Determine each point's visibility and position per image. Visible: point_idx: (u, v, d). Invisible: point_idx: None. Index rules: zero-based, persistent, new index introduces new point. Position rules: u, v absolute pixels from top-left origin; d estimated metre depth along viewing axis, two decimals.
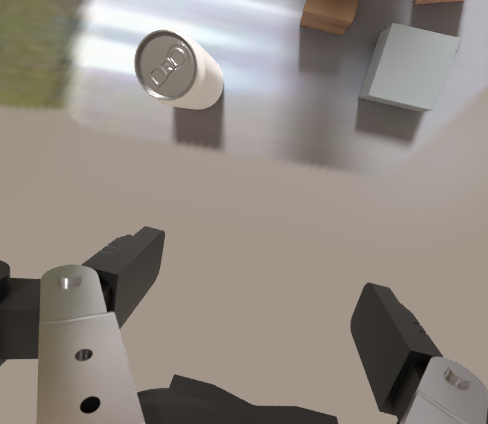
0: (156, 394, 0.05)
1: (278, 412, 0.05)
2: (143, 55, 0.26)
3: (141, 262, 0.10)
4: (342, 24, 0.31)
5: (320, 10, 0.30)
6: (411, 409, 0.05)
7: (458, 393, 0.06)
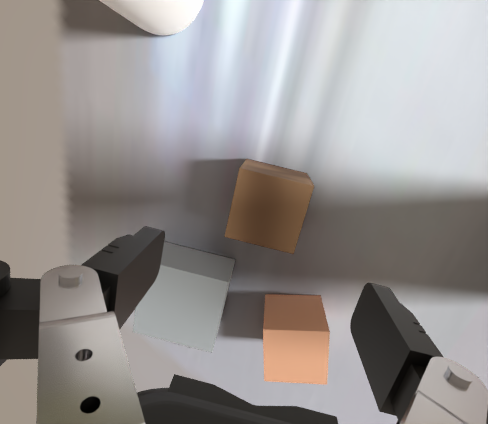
0: (156, 394, 0.05)
1: (278, 412, 0.05)
2: None
3: (141, 262, 0.10)
4: None
5: (239, 192, 0.20)
6: (411, 409, 0.05)
7: (458, 393, 0.06)
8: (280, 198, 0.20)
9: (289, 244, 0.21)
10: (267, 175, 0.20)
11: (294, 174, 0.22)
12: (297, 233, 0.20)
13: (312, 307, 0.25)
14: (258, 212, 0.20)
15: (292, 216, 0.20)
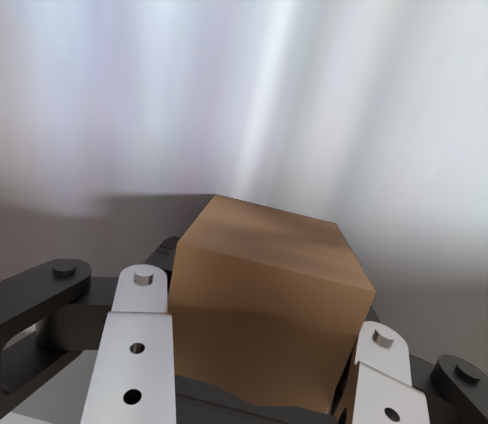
0: None
1: (278, 413, 0.05)
2: None
3: None
4: None
5: (181, 300, 0.08)
6: (357, 383, 0.05)
7: (378, 348, 0.07)
8: (285, 318, 0.08)
9: None
10: (251, 262, 0.07)
11: (315, 237, 0.10)
12: (327, 395, 0.08)
13: None
14: (231, 345, 0.08)
15: (314, 358, 0.08)
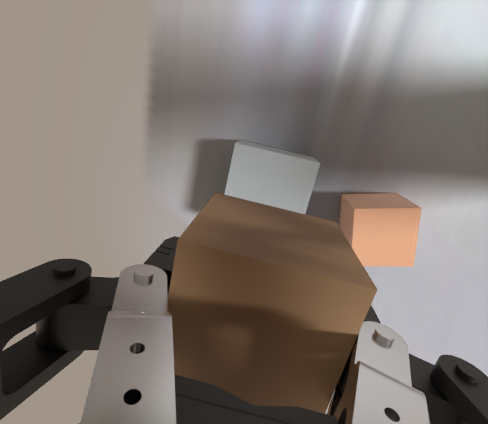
0: None
1: (278, 412, 0.05)
2: None
3: None
4: None
5: (181, 297, 0.08)
6: (357, 383, 0.05)
7: (378, 348, 0.07)
8: (285, 315, 0.08)
9: None
10: (252, 259, 0.07)
11: (315, 235, 0.10)
12: (327, 393, 0.08)
13: (393, 198, 0.26)
14: (231, 342, 0.08)
15: (315, 356, 0.08)
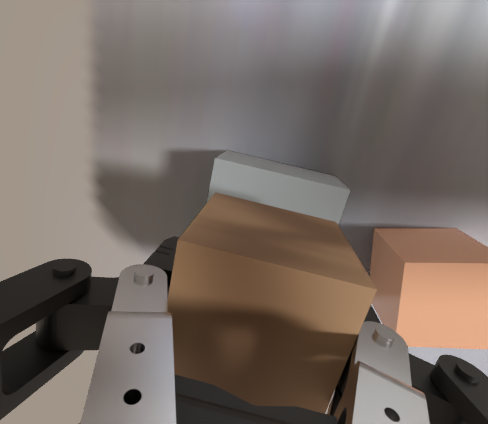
0: None
1: (278, 413, 0.05)
2: None
3: None
4: None
5: (181, 297, 0.08)
6: (357, 383, 0.05)
7: (378, 348, 0.07)
8: (285, 315, 0.08)
9: None
10: (252, 259, 0.07)
11: (315, 235, 0.10)
12: (327, 393, 0.08)
13: (456, 239, 0.17)
14: (231, 342, 0.08)
15: (315, 356, 0.08)
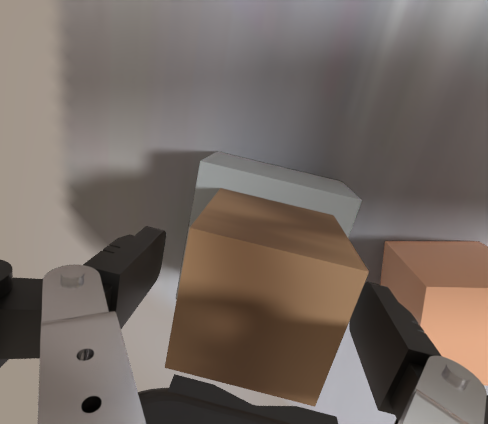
0: (156, 394, 0.05)
1: (278, 413, 0.05)
2: None
3: (142, 262, 0.10)
4: None
5: (192, 280, 0.09)
6: (410, 408, 0.05)
7: (456, 392, 0.06)
8: (286, 296, 0.09)
9: (306, 388, 0.09)
10: (256, 245, 0.08)
11: (313, 226, 0.11)
12: (325, 368, 0.09)
13: (482, 255, 0.15)
14: (237, 322, 0.09)
15: (313, 334, 0.09)
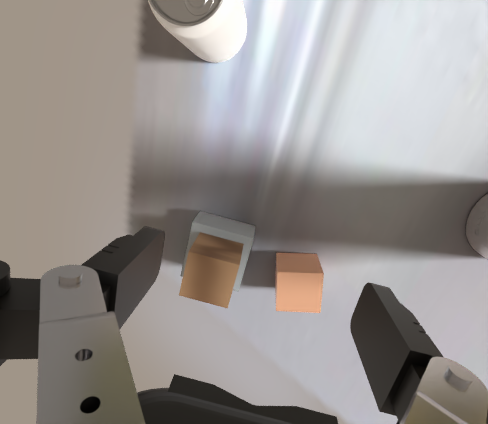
0: (156, 394, 0.05)
1: (278, 412, 0.05)
2: None
3: (141, 262, 0.10)
4: None
5: (189, 266, 0.29)
6: (411, 409, 0.05)
7: (458, 393, 0.06)
8: (217, 272, 0.29)
9: (224, 301, 0.30)
10: (207, 256, 0.28)
11: (231, 249, 0.31)
12: (229, 294, 0.29)
13: (310, 260, 0.35)
14: (202, 279, 0.29)
15: (225, 283, 0.29)
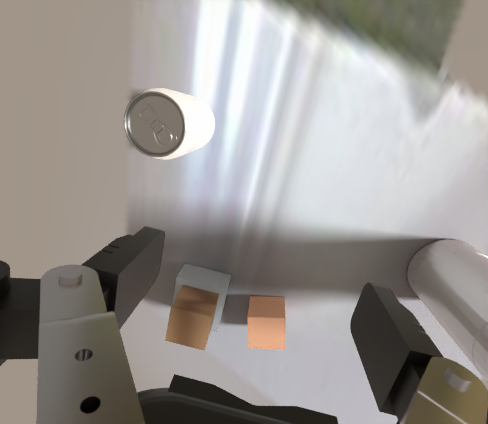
0: (156, 394, 0.05)
1: (278, 413, 0.05)
2: (164, 100, 0.26)
3: (141, 262, 0.10)
4: None
5: (172, 318, 0.36)
6: (411, 409, 0.05)
7: (458, 393, 0.06)
8: (194, 322, 0.36)
9: (201, 345, 0.37)
10: (186, 311, 0.35)
11: (207, 301, 0.38)
12: (205, 340, 0.36)
13: (277, 304, 0.42)
14: (183, 328, 0.36)
15: (201, 331, 0.36)
